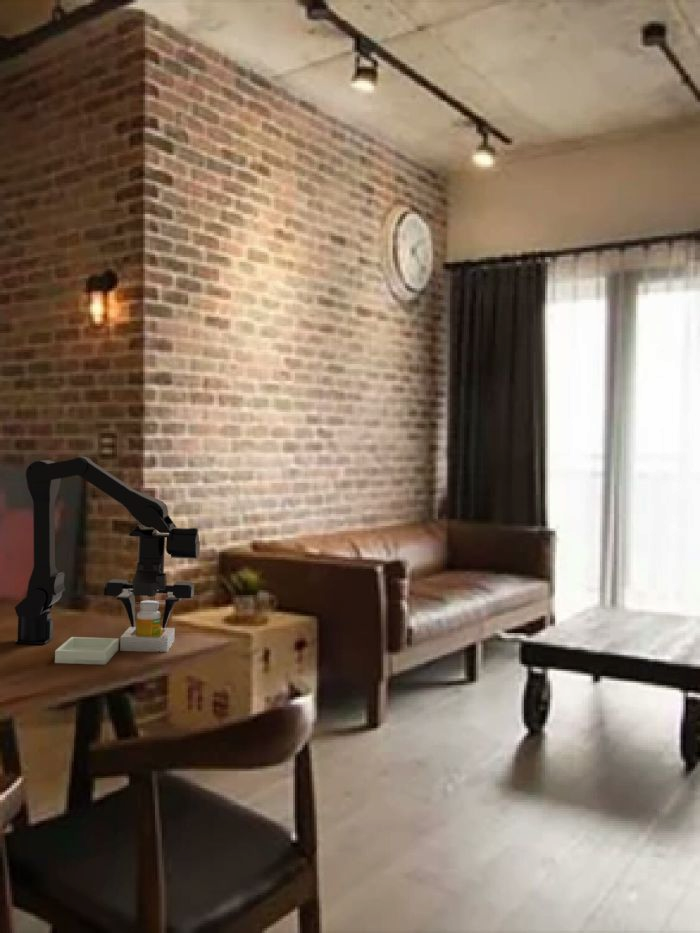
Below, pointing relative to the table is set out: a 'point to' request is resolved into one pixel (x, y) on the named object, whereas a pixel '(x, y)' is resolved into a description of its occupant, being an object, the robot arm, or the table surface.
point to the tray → (86, 650)
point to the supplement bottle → (148, 619)
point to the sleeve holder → (147, 641)
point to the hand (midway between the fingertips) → (148, 627)
